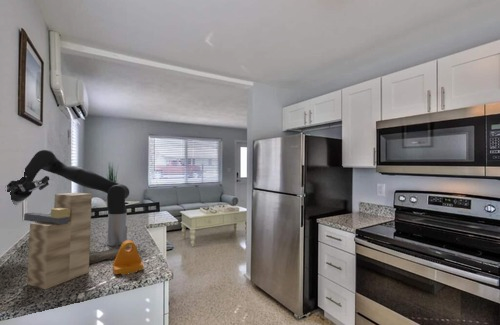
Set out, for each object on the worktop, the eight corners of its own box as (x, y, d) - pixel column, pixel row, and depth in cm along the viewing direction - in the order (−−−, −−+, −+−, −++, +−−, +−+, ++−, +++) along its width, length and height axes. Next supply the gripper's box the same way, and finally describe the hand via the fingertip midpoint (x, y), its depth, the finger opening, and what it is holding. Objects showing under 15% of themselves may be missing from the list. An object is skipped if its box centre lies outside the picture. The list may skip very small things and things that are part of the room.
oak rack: (27, 284, 91) (31, 195, 92) (71, 268, 106) (74, 192, 107) (45, 289, 88) (49, 197, 89) (88, 272, 103) (91, 193, 104)
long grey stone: (141, 256, 127) (133, 253, 134) (142, 246, 128) (133, 242, 134) (55, 272, 102) (50, 266, 108) (56, 258, 102) (51, 254, 109)
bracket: (114, 276, 99) (115, 246, 100) (112, 270, 105) (113, 241, 106) (143, 271, 105) (144, 242, 106) (140, 265, 111) (141, 238, 112)
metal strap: (22, 220, 97) (23, 206, 97) (34, 218, 100) (35, 204, 100) (57, 225, 90) (58, 209, 90) (69, 223, 93) (70, 208, 94)
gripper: (-5, 188, 111) (16, 170, 106) (32, 186, 124) (52, 170, 120) (-1, 203, 109) (21, 185, 105) (36, 200, 123) (57, 184, 119)
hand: (37, 177), depth 113 cm, fingers open, 8 cm apart
